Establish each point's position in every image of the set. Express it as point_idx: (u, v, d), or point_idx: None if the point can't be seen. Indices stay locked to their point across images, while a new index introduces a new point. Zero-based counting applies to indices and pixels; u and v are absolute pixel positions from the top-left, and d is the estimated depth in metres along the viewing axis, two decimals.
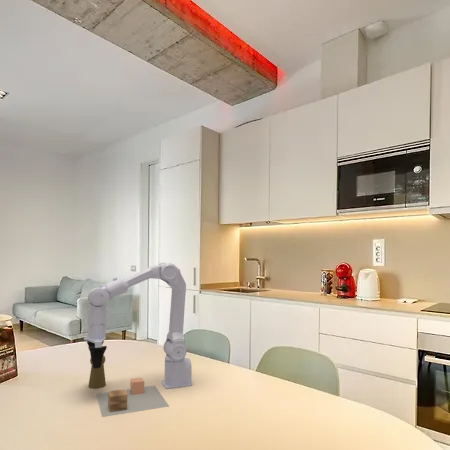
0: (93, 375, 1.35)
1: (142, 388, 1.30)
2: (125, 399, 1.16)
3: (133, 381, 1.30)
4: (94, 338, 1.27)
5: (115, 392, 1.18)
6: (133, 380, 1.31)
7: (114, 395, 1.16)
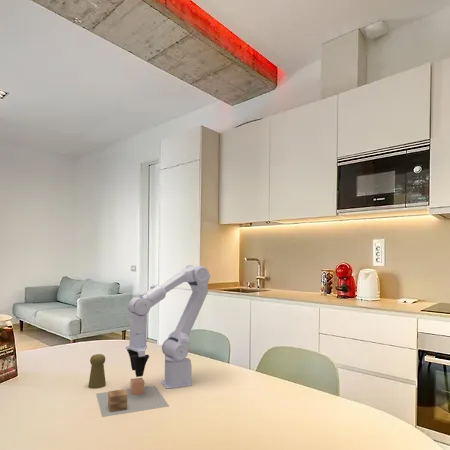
0: (93, 375, 1.35)
1: (142, 388, 1.30)
2: (125, 399, 1.16)
3: (133, 381, 1.30)
4: (136, 347, 1.29)
5: (115, 392, 1.18)
6: (133, 380, 1.31)
7: (114, 395, 1.16)
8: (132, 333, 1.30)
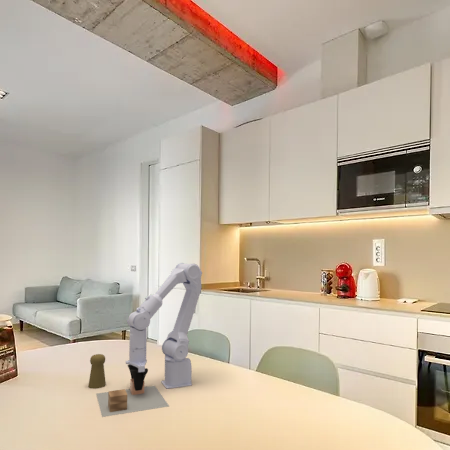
0: (93, 375, 1.35)
1: (142, 388, 1.30)
2: (125, 399, 1.16)
3: (133, 381, 1.30)
4: (136, 362, 1.29)
5: (115, 392, 1.18)
6: (133, 380, 1.31)
7: (114, 395, 1.16)
8: (132, 348, 1.29)
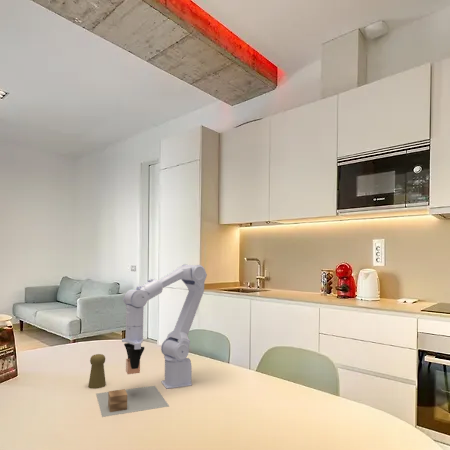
0: (93, 375, 1.35)
1: (138, 368, 1.27)
2: (125, 399, 1.16)
3: (128, 360, 1.27)
4: (132, 340, 1.26)
5: (115, 392, 1.18)
6: (129, 360, 1.28)
7: (114, 395, 1.16)
8: (129, 326, 1.27)
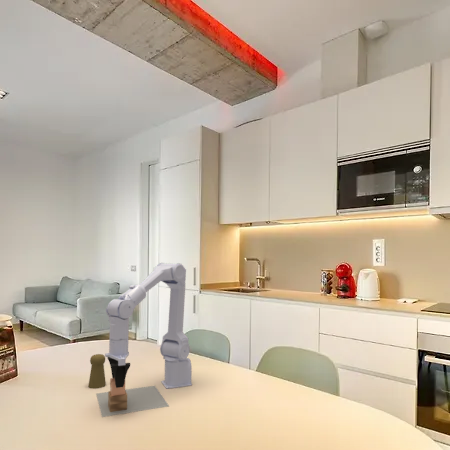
0: (93, 375, 1.35)
1: (123, 389, 1.17)
2: (125, 399, 1.16)
3: (113, 381, 1.17)
4: (116, 354, 1.16)
5: None
6: (113, 380, 1.18)
7: None
8: (115, 339, 1.16)
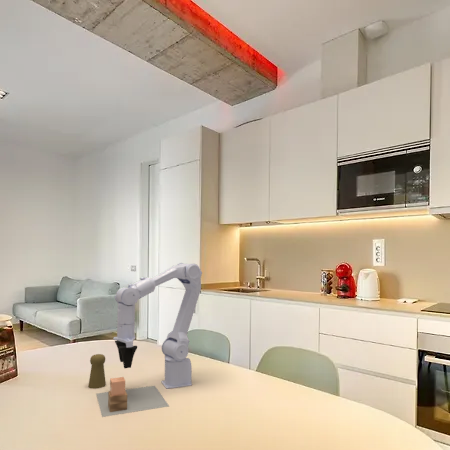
0: (93, 375, 1.35)
1: (123, 389, 1.17)
2: (125, 399, 1.16)
3: (113, 381, 1.17)
4: (124, 338, 1.26)
5: None
6: (113, 380, 1.18)
7: None
8: (120, 324, 1.27)
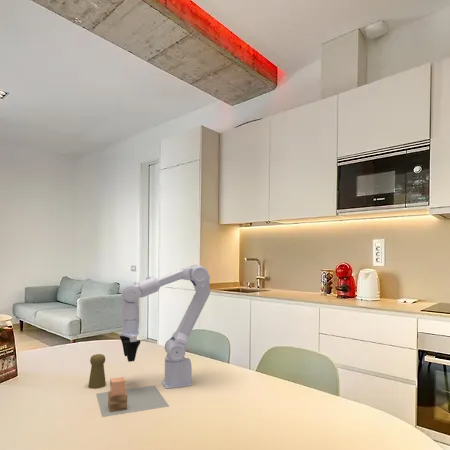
0: (93, 375, 1.35)
1: (123, 389, 1.17)
2: (125, 399, 1.16)
3: (113, 381, 1.17)
4: (128, 333, 1.33)
5: None
6: (113, 380, 1.18)
7: None
8: (122, 319, 1.34)
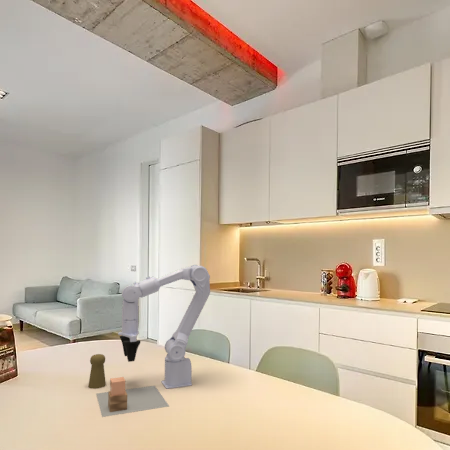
0: (93, 375, 1.35)
1: (123, 389, 1.17)
2: (125, 399, 1.16)
3: (113, 381, 1.17)
4: (128, 333, 1.33)
5: None
6: (113, 380, 1.18)
7: None
8: (122, 319, 1.34)
